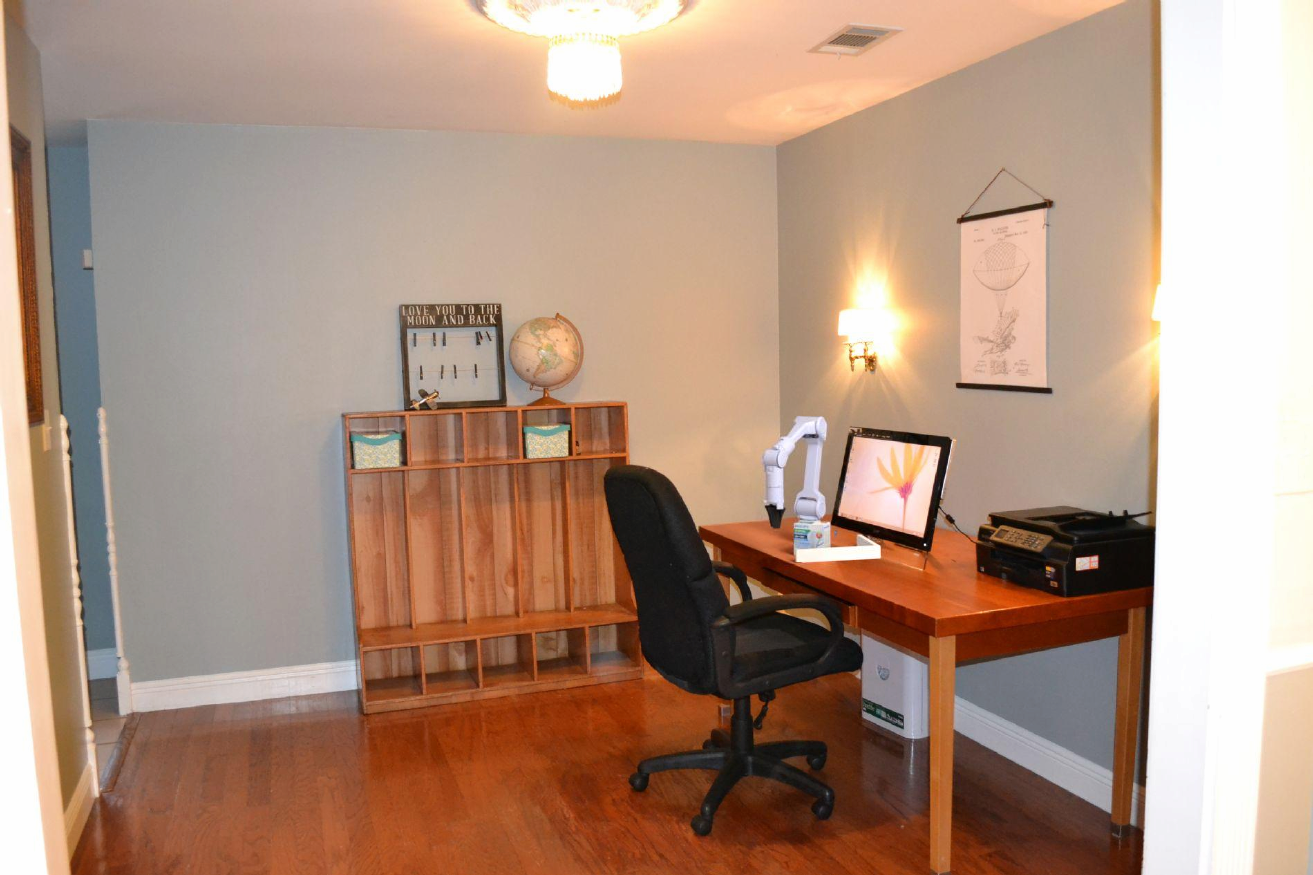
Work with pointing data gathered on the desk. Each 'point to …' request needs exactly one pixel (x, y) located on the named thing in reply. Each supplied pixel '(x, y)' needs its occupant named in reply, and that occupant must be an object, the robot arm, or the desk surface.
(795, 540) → the light bulb box
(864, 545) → the corner walls
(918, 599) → the desk surface
